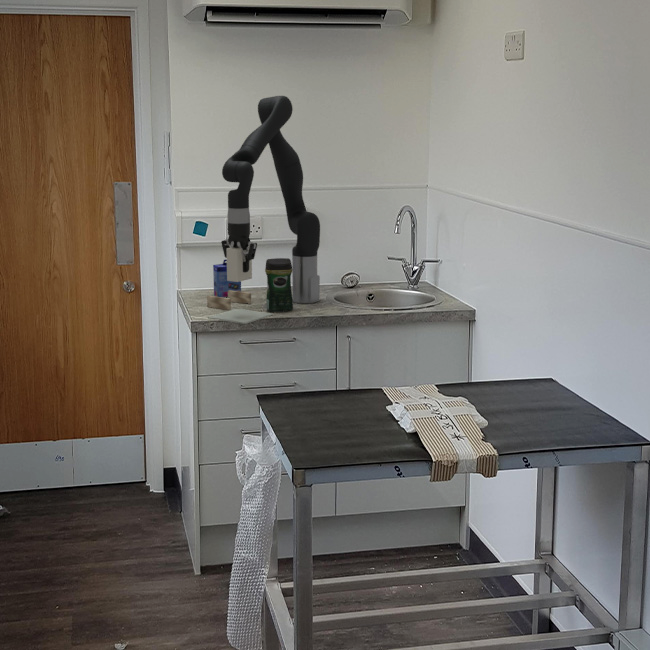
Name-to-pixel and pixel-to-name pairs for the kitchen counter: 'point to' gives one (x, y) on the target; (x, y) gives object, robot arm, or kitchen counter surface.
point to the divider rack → (228, 300)
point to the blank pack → (237, 265)
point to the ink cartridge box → (223, 281)
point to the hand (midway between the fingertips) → (239, 271)
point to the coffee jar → (279, 285)
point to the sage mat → (240, 316)
